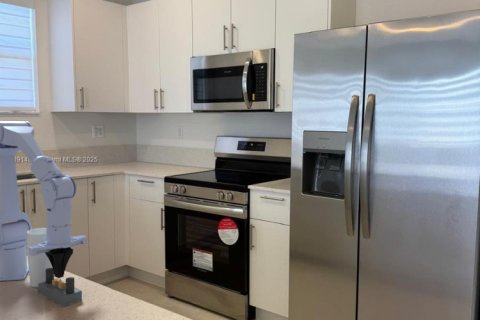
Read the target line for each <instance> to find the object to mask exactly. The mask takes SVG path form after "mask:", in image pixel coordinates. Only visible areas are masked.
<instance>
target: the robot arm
mask: <svg viewBox="0 0 480 320" xmlns="http://www.w3.org/2000/svg"><path fill="white" fill-rule="evenodd" d="M18 152H22V153H23V154H24V156H25V157H26V158H27V159H28V161H29V162H30V163H31V164H30V167H29V168H30V171H31V173H32V174H33V175H34V176H35V179H37V181H38V182H39V184H40V186H41V189H40V193H41V195H42V198H43V206H44V208H45V209H46V228H47V241H45V242H42V243H40V244H37V245H34V246H30V247H28V252H29V255H31V256H36V255H37V254H40V253H45V254H46V255H47V257H48V259H49V261H50V263H51V265H52V268H53V272H54V278H60V279H61V278H64V276H65V272H66V268H67V266H68V263H69V261H70V259H71V257H72V255H73V253H74V248H72V247H74V246H78V245H87V243H88V241H87V239H88V238H87V237H88V236H86V235H84V234H83V235H76V236H72V199H73V198H74V197H75V196H76V194H77V184H76V181H75V179H74V178H73V177H72V176H71V175H67V174H66V173H63V172H62V171H61V169H60V168H59V167H58V165H57V164H56V162H55V161H54V160H53V158H52V157H50V156H47V155H44V153H43V151H42V149H41V148H40V146H39V144H38V143H37V141H36V140H35V128H34V127H33V125H32V123H31V122H30V121H27V120H24V121H18V120H15V121H12V120H11V121H10V120H9V121H7V120H0V281H19V280H20V281H21V280H22V281H23V280H25V278H26V277H27V275H28V274H29V266H28V256H27V245H26V237H27V231H28V230H31V229H33V226H32V223H31V222H30V215H29V214H27V213H26V212H24V211H22V210H21V209H20V207H21V206H20V197H19V186H18V176H17V175H18V174H17V167H16V157H15V156H16V155H17V153H18Z"/></svg>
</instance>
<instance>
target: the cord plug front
mask: <svg viewBox="0 0 480 320" xmlns="http://www.w3.org/2000/svg"><path fill="white" fill-rule="evenodd" d="M65 281H66V294H72V293H74V287H75V277H73V276H69V277H66V278H65Z"/></svg>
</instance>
